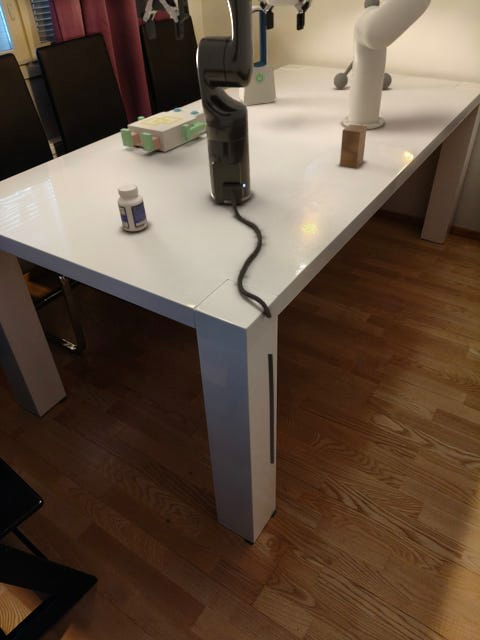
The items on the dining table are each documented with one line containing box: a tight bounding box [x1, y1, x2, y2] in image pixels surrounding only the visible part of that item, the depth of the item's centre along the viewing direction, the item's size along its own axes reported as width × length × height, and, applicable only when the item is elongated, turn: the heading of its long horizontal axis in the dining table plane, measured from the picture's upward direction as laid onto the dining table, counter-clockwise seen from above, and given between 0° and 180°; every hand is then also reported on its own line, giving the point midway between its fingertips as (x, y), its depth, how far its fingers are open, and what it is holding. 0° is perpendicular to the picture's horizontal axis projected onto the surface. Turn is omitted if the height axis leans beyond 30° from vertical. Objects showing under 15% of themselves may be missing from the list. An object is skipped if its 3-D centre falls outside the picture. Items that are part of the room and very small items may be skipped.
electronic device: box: [238, 5, 277, 106], centre depth 173 cm, size 12×8×30 cm, turn 105°
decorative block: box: [120, 107, 206, 153], centre depth 149 cm, size 26×6×20 cm
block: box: [339, 124, 368, 169], centre depth 126 cm, size 4×5×9 cm
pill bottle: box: [117, 182, 148, 232], centre depth 102 cm, size 5×5×9 cm
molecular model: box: [333, 0, 393, 90], centre depth 184 cm, size 24×22×30 cm
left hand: (165, 39), depth 122 cm, fingers open, 8 cm apart
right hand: (284, 29), depth 139 cm, fingers open, 9 cm apart
